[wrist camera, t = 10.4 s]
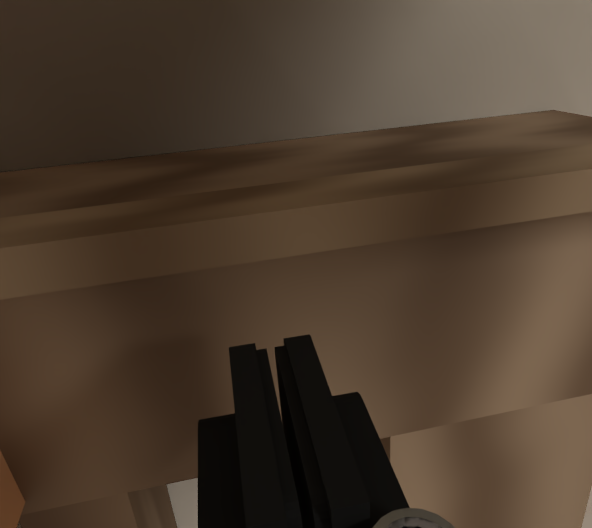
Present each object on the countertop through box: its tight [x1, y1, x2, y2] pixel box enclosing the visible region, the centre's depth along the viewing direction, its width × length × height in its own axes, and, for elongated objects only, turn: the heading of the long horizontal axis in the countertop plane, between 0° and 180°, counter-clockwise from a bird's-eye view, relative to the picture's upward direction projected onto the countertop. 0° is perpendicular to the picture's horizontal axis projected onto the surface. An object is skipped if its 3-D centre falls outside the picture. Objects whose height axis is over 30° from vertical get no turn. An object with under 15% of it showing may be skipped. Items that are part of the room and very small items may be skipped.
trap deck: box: [0, 110, 592, 528], centre depth 16 cm, size 28×17×8 cm, turn 95°
